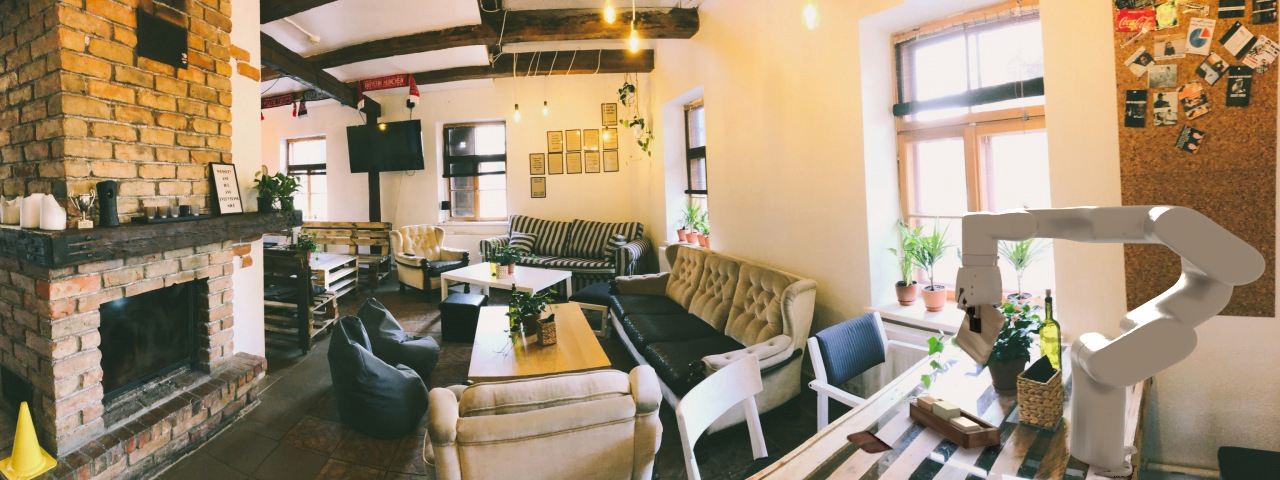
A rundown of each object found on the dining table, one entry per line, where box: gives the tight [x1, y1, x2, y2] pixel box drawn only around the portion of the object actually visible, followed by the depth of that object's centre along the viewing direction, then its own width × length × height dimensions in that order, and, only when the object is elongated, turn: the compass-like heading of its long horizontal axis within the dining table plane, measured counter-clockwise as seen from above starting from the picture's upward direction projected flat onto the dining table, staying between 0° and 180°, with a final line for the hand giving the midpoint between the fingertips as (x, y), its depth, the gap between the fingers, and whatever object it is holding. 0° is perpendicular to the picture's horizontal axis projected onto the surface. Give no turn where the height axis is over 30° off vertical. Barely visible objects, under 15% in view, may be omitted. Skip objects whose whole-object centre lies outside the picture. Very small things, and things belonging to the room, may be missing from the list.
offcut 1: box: [916, 395, 940, 413], centre depth 142 cm, size 4×5×6 cm
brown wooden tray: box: [908, 398, 1002, 450], centre depth 137 cm, size 10×20×6 cm, turn 10°
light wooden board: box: [954, 304, 1008, 366], centre depth 129 cm, size 2×9×15 cm, turn 8°
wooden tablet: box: [846, 429, 894, 454], centre depth 137 cm, size 26×2×10 cm
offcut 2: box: [950, 417, 979, 432], centre depth 131 cm, size 4×5×5 cm
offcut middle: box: [933, 400, 961, 423], centre depth 136 cm, size 4×5×7 cm
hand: (979, 331), depth 129 cm, fingers closed on light wooden board, 1 cm apart
